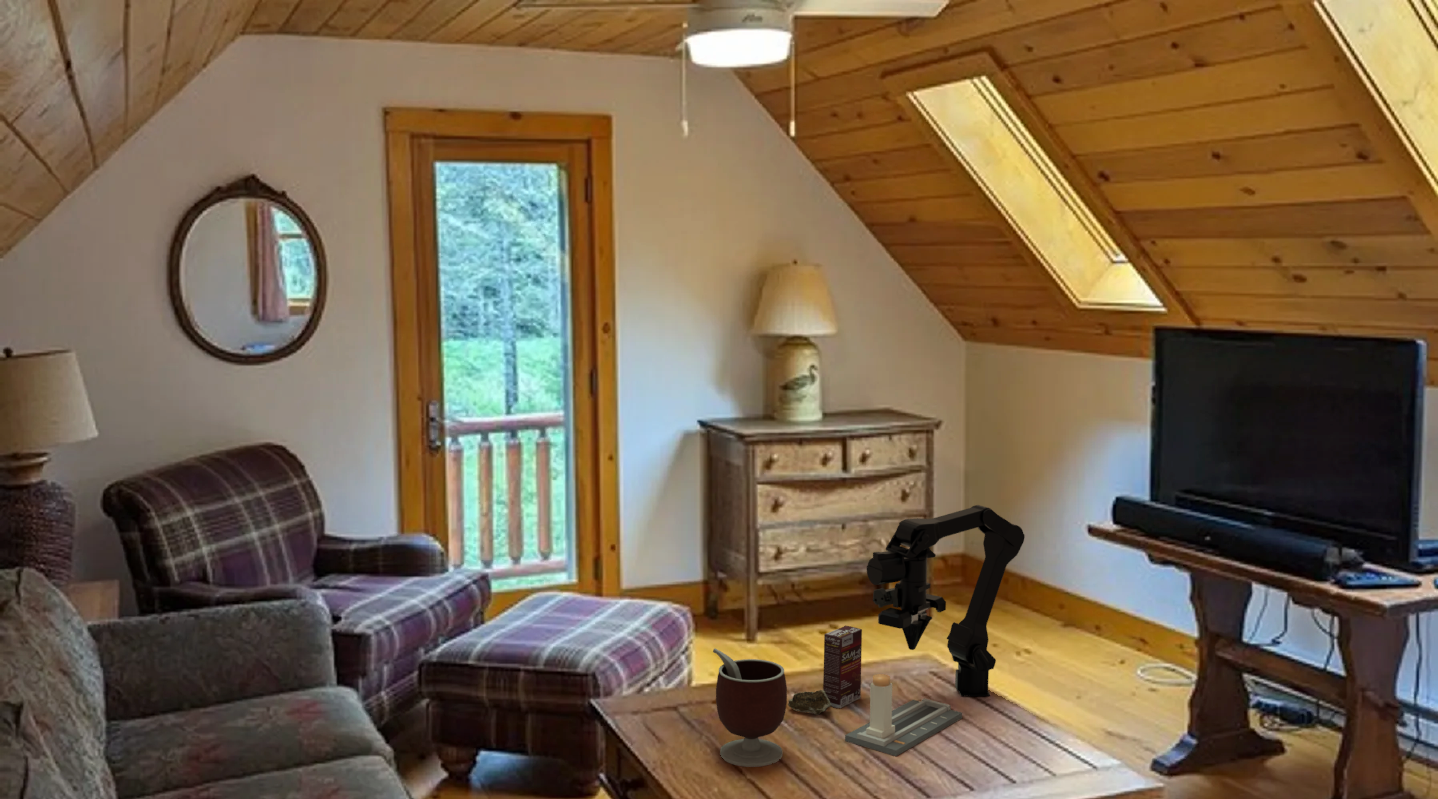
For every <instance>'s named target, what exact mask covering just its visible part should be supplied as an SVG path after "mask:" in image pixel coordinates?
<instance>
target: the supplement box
mask: <svg viewBox="0 0 1438 799" xmlns="http://www.w3.org/2000/svg"><path fill="white" fill-rule="evenodd" d="M862 636H863V629H861V628H858V627H855V626H854V627H853V626H850V625H844V626H842V627H840V628H837V629H834V630H831V631H830V632H827V633H824V636H823V638H824V640H823V642H824V643H823V680H822V681H823V682H822V683H823V684H822V685H823V687H822V690H824V691H825V693H826V695H827V697H828V699H829V700H830V703H831V706H832V708H836V709H839V708H840V709H841V708H843V707H845V706H848V705H849V704H851V703H853V702H856V701H858V700H860V699H861V698H862V697H861V696H862V695H861V694H862V693H861V692H862V686H861V685H862V644H863V643H862V642H863V640H862V639H863V638H862ZM831 706H830V707H831Z"/></svg>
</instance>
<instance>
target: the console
mask: <svg viewBox="0 0 1438 799" xmlns="http://www.w3.org/2000/svg"><path fill="white" fill-rule="evenodd" d="M961 719H963V712H961V711H958V710H954V709H951V704H948V703H944V702H941V701H937V700H932V699H929V698H922V699H921V701H920V700H916V699H911V700H909V701H908V702H906V703H904V704H902V705H900V706H898V707H896V708H894V709H892V725H895V733H894V734H893V735H891V736H889V737H887V738H885V739H881V738H878V737H874V736H871V735H868V734H866V728H868V727H870V721H869V722H868V723H866V724H863V725H862V726H860V727H858V728H856V729H854V730H852V731H850V732H849V733H846V734H844V741H845V742H847V743H850V744H851V743H852V744H854V745H858V746H860V747H865V748H868V749H871V750H874V751H878V752H880V753H884V754H887V755H890V756H893V757H897V756H899V755H901V754H902V753H904V752H906V751H908V750H910V749H911V748H913V747H915V746H916V745H918V744H920V743H922V742H923V741H925V740H927V739H929V738H930V737H932V736H934V735H936V734H937V733H938V732H941V731H942V730H944V729H946V728H948V727H950V726H952V725H953V724H955V723H956V722H958V721H960V720H961Z"/></svg>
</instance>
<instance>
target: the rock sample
mask: <svg viewBox="0 0 1438 799" xmlns="http://www.w3.org/2000/svg"><path fill="white" fill-rule="evenodd" d="M787 703H788V704H787V705H788V707H789V708H791V709H792V710H793V711H796V712H797V711H800V712H799V713H806V712H809V713H808V714H813V713H814V715H820V714H821V713H823V712H826V711H827V708H830V707H831V703H830V700H829V699H828V697H827V695H826V693H825V691H824V690H823V689H820V690H816V691H803V692H797V693H794V694H793V696H792V698H790V699H788V701H787Z"/></svg>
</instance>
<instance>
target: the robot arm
mask: <svg viewBox="0 0 1438 799" xmlns="http://www.w3.org/2000/svg"><path fill="white" fill-rule="evenodd" d="M973 529H978V531H980V532H981V533H982V534H984V537H983V541H982V542H983V543H982V544H983V550H984V551H983V552H984V555H985V556H984V560H983V563H982V565H981V566H982V567H981V569H980V572H979V575H978V578H977V581H976V584H975V586H974V589H973V593H972V595H971V598H970V601H969V604H968V607H967V610H966V613H965V616H964V618H963V619H962V620H960V622H956V621H953V622H952V624H951V626H950V632H949V634H948V636H947V637H946V640H947V645H946V646H947V649H948V652H949V653H950V654H951V657H952V660H953V662H955V663H957V669H955V673H954V674H955V682H954V683H955V685H954V686H955V689H956V691H958V693H959V696H960V697H990V696H991V693H990V692H989V674H990V673H989V672H990V670H994V668H995V666H996V662H997V658H995V657H994V656H993V655H992V654H991V653H990V652H989V651H988V645H989V634H988V628H987V625H988V621H989V619H990V616H991V613H992V610H993V607H994V604H995V600H996V598H997V594H998V592H999V590H1000V586H1001V583H1002V580H1003V577H1004V575H1005V571H1006V569H1007V566H1008V565H1009V563H1010V562H1012V561H1013V559H1015V558H1016V556H1018V554H1019V552H1020V550H1021V548H1022V546H1023V544H1024V542H1025V536H1026V535H1025V534H1024V531H1023V529H1022V527H1021V526H1019V525H1017V524H1014V523H1011V522H1010V521H1008V520H1006V519H1005V518H1003V517H1002V516H1001V515H999V514H997V512H995V511H994V510H993V509H992V508H991V507H987V506H983V505H980V504H976V505H975V504H974V505H972V506H970V507H969V508H966V509H962V510H958V511H954V512H950V513H947V514H944V515H940V516H937V517H933V518H919V517H918V518H906V519H903V520H900V522H898V526H897V528H896V530H895V532H894V533H893V535H892V537H891V538H890V540H889V542H888V544H887V545H886V547H885V551H873V552H872V558H871V557H870V559H869V561H868V562H867V565H866V575H867V577H868V580H869V581H870V583H871V584H872V585H874V586H879V585H885V584H891V583H895V584H894V587H892V588H891V587H890V588H888V589H885V588H884V587H882V588H877V589H874V590H873V596H872V602H873V603H874V604H875V605H877V606H878V608H879V609H880V608H883V607H886V606H890V605H892V607H888V608H886V609H883V610H881V612H879V613H878V616H877V623H878V625H882V626H887V627H891V628H896V629H901V631H902V632H903V634H904V638H905V641H906V644H907V647H908V649H909V650H911V651H914V650H916V647H917V646H918V644H919V642H920V640H921V638H922V636H923V634H924V632H925V631H926V629H927V626H928V625H929V623H930V621H931V620H932V619H933V616H930V615H927V610H929V609H931V608H933V609H935V610H936V612H937V613H942V612H945V611H946V610H947V609H946V608H947V601H946V600H945V598H944V597H943V596H939V595H935V594H929V593H927V591H928V590H929V589H931V582H930V583H929V582H927V579H928V578H927V577H928V576H927V575H928V574H927V573H928V559H932V558H936V556H937V555H936V553H935V552H933V551H932V549H931V547H933V546H936V544H938V542H939V541H940V540H941V539H943V538H945V537H946V538H947V537H950V536H953V535H955V534H956V535H957V534H960V533H963V532H966V531H970V530H973ZM901 545H902V546H901ZM904 546H905V547H904ZM897 608H898V609H897ZM899 608H900V609H899Z"/></svg>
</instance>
